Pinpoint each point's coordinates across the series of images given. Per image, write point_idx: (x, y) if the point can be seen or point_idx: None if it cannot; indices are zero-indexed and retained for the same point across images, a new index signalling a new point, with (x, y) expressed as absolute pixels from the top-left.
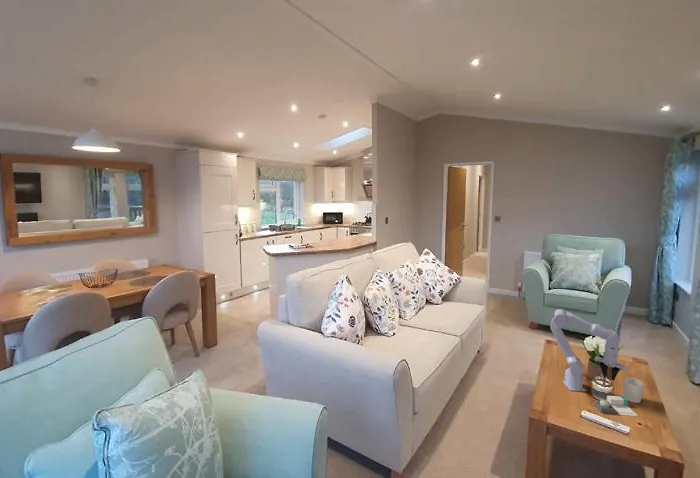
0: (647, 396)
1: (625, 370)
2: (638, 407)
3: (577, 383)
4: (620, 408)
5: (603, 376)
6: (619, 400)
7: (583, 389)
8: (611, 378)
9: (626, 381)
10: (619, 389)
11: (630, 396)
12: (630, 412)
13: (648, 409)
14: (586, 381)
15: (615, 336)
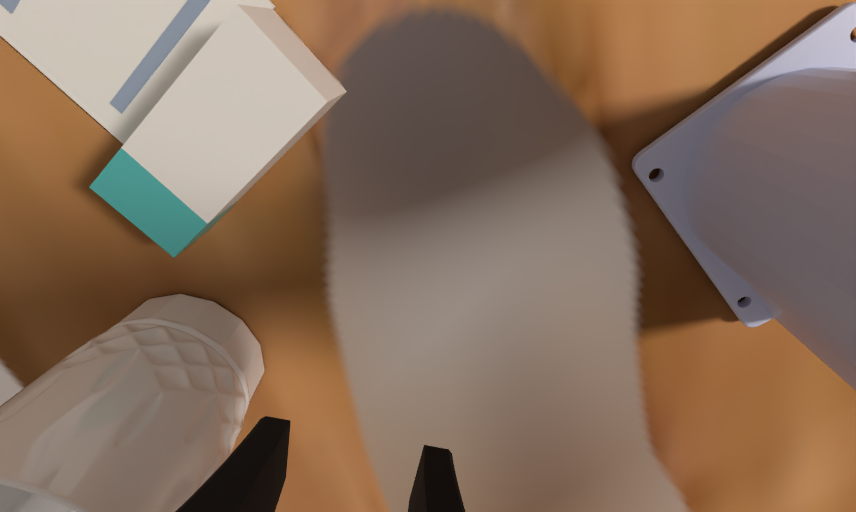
0: None
1: None
2: (78, 228)
3: (835, 107)
4: (155, 13)
5: (449, 457)
6: (162, 104)
7: (664, 176)
8: (272, 446)
9: (78, 510)
10: (351, 453)
11: (149, 329)
12: (35, 3)
13: (10, 259)
14: (645, 411)
15: None
